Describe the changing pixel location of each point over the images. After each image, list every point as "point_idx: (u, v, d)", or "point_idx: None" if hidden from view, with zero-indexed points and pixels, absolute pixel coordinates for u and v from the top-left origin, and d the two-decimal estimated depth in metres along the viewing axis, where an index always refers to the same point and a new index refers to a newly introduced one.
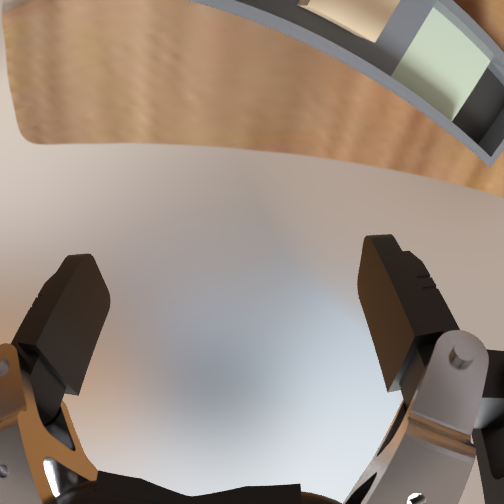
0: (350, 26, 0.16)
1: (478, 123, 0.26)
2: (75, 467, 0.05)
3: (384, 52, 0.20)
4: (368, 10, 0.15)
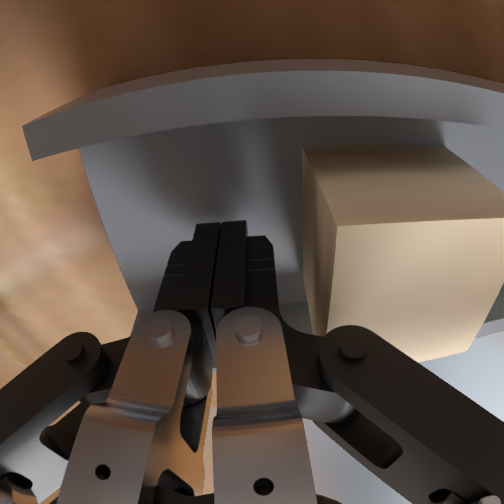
0: (417, 360, 0.08)
1: None
2: (186, 474, 0.05)
3: None
4: (449, 321, 0.07)
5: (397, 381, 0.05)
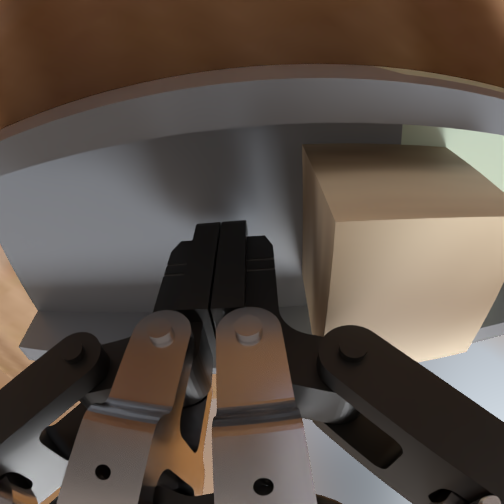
0: (416, 360, 0.08)
1: None
2: (186, 474, 0.05)
3: None
4: (448, 321, 0.07)
5: (397, 381, 0.05)
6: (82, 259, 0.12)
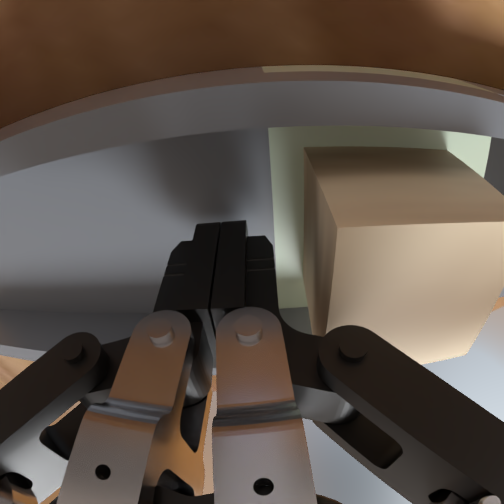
0: None
1: None
2: (186, 474, 0.05)
3: None
4: (448, 324, 0.07)
5: (397, 381, 0.05)
6: (14, 264, 0.12)
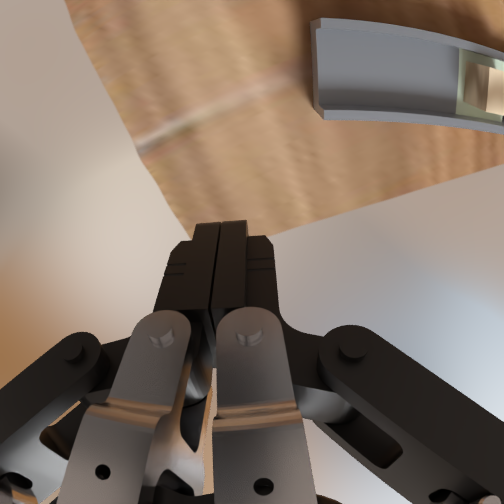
0: None
1: None
2: (186, 474, 0.05)
3: (445, 99, 0.28)
4: None
5: (397, 381, 0.05)
6: (362, 77, 0.27)
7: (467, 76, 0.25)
